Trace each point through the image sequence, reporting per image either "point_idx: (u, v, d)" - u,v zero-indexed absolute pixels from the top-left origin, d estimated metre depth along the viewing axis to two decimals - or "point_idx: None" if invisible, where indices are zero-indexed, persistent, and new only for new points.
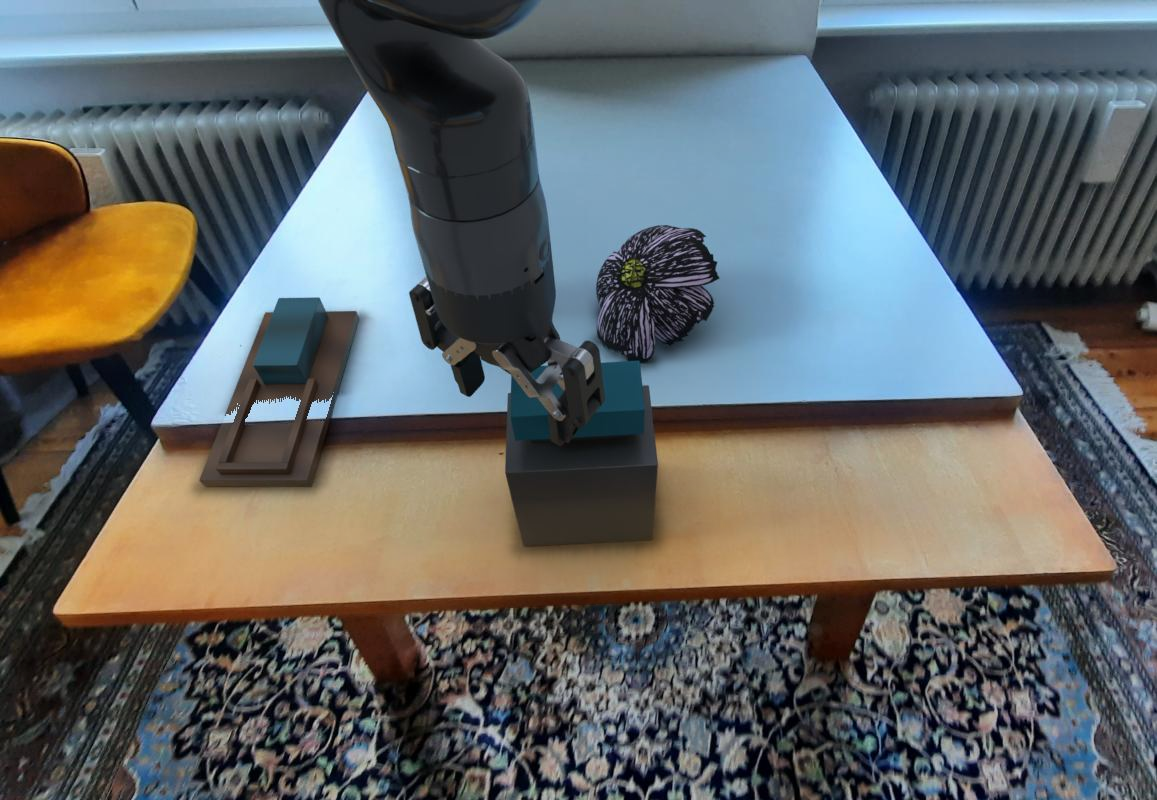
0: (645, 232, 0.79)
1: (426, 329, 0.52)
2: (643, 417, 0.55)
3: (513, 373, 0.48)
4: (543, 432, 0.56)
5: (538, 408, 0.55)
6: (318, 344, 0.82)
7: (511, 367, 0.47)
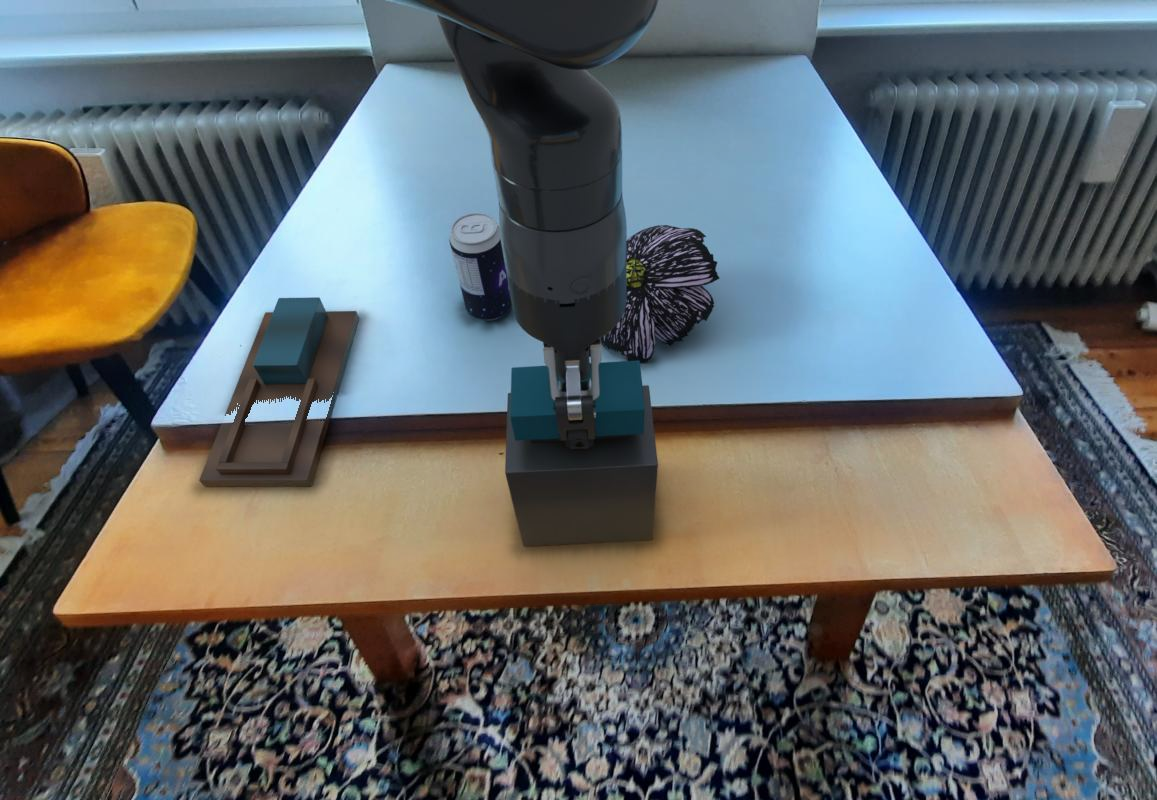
0: (645, 232, 0.79)
1: None
2: (643, 417, 0.55)
3: None
4: (543, 432, 0.56)
5: (538, 408, 0.55)
6: (318, 344, 0.82)
7: None
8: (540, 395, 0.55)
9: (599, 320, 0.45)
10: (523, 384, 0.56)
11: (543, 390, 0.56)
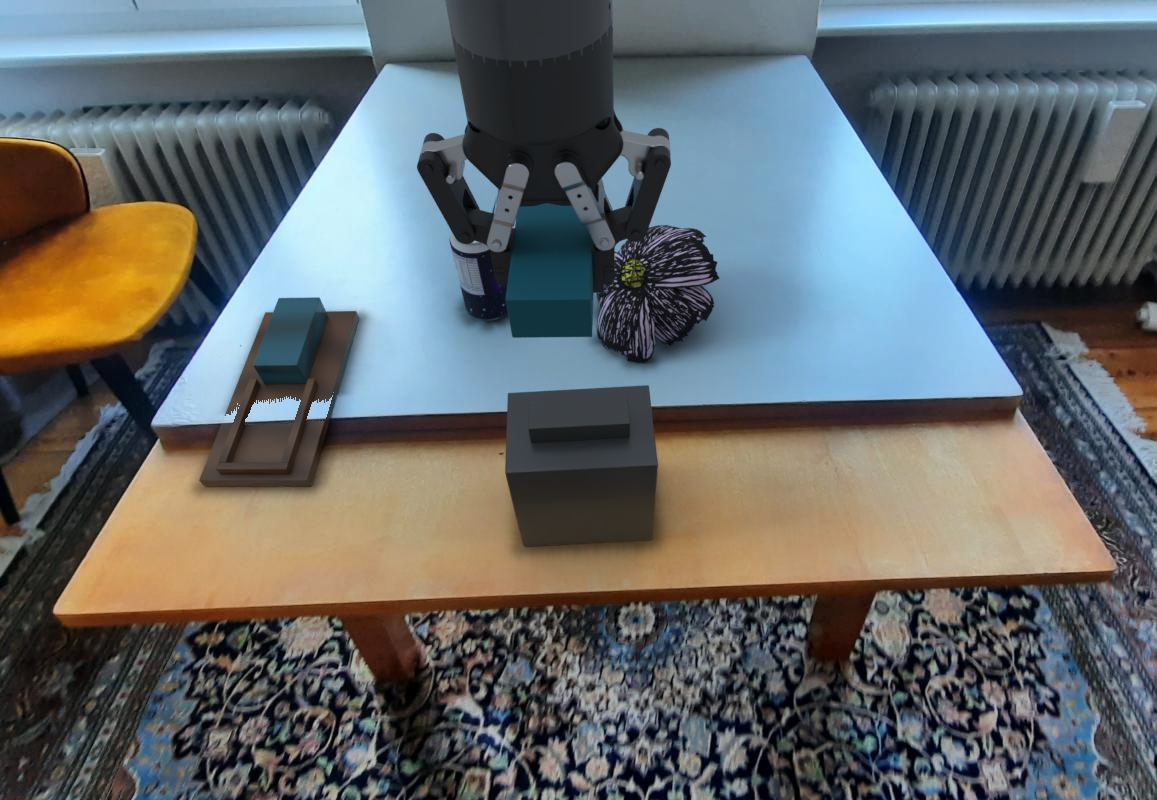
0: None
1: (456, 212, 0.41)
2: None
3: (572, 193, 0.39)
4: (592, 298, 0.44)
5: (579, 273, 0.42)
6: (318, 344, 0.82)
7: (579, 183, 0.39)
8: (559, 271, 0.43)
9: None
10: (537, 287, 0.42)
11: (551, 268, 0.43)
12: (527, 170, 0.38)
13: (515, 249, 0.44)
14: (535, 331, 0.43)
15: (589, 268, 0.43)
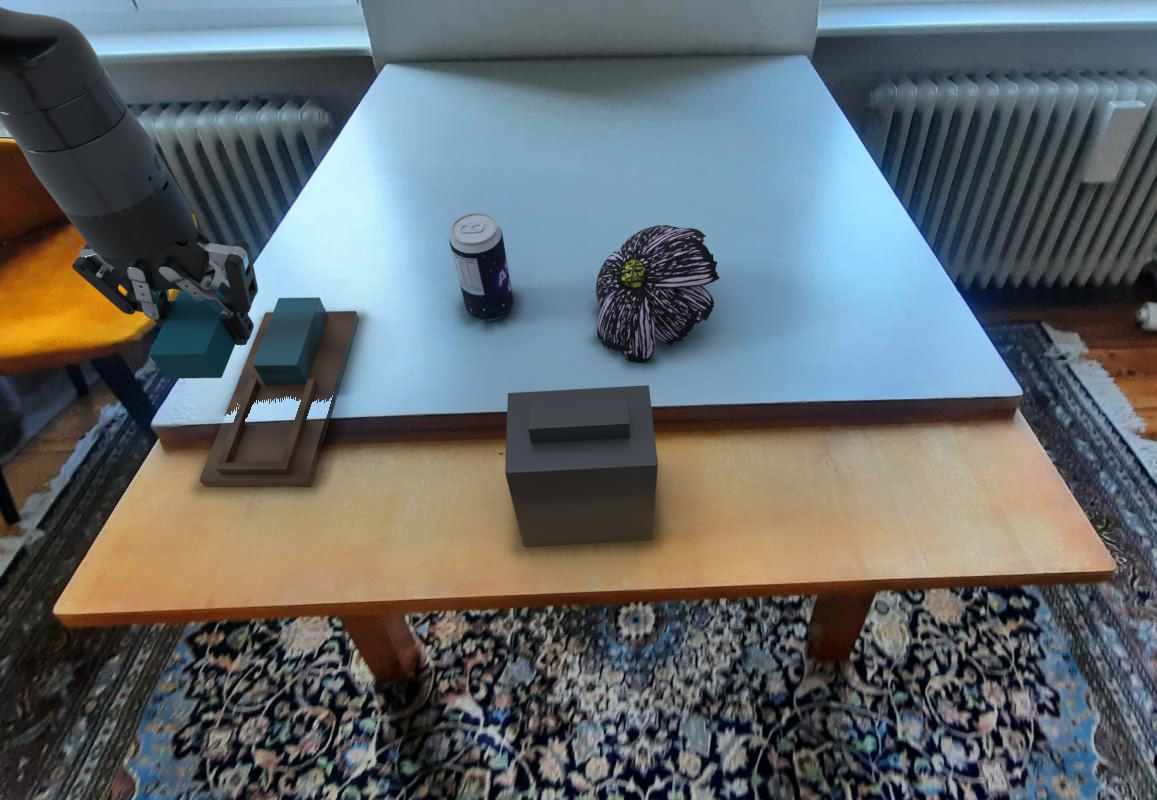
0: (645, 232, 0.79)
1: (113, 295, 0.60)
2: None
3: (181, 284, 0.58)
4: (225, 350, 0.63)
5: (205, 334, 0.61)
6: (318, 344, 0.82)
7: (180, 278, 0.57)
8: (192, 333, 0.61)
9: (181, 192, 0.55)
10: (172, 345, 0.60)
11: (187, 331, 0.61)
12: (141, 271, 0.57)
13: (169, 316, 0.63)
14: (180, 374, 0.62)
15: (213, 331, 0.61)
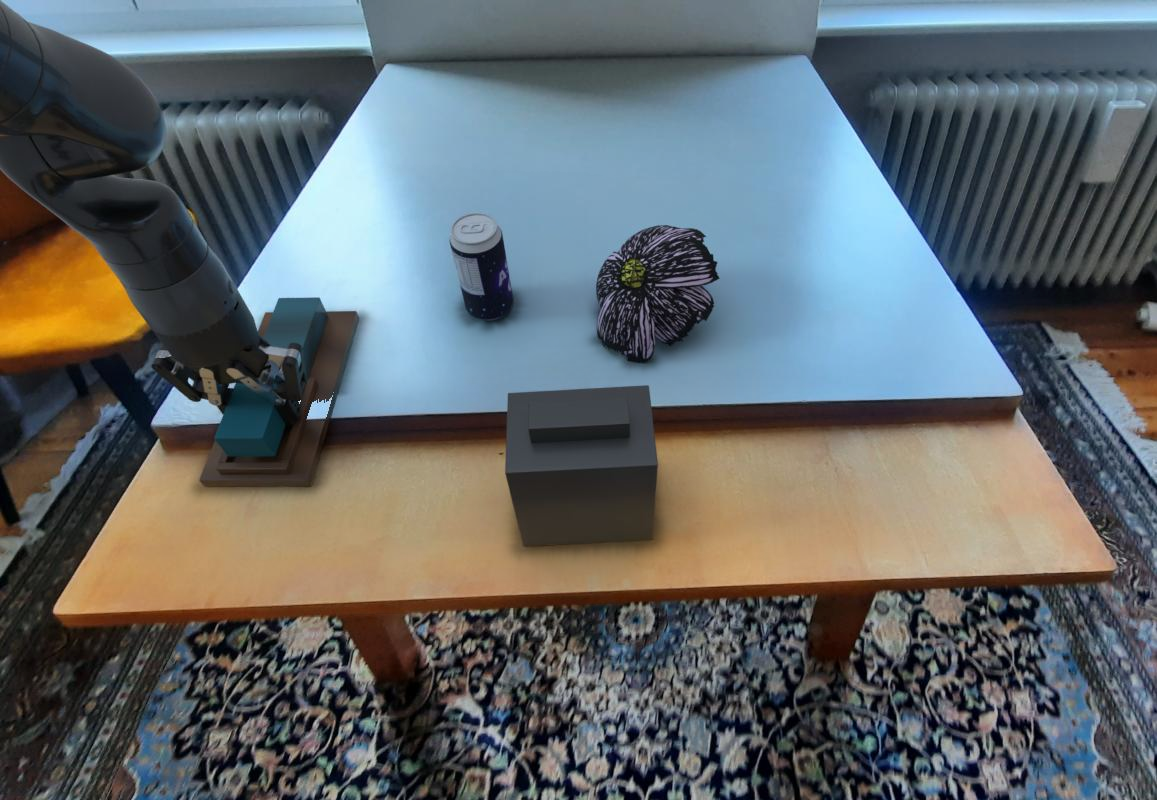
0: (645, 232, 0.79)
1: (183, 387, 0.70)
2: None
3: (244, 380, 0.68)
4: (278, 431, 0.73)
5: (261, 420, 0.71)
6: (318, 344, 0.82)
7: (243, 377, 0.67)
8: (250, 418, 0.71)
9: (246, 306, 0.65)
10: (234, 429, 0.70)
11: (246, 417, 0.71)
12: (211, 371, 0.66)
13: (229, 403, 0.72)
14: (240, 453, 0.72)
15: (269, 416, 0.71)
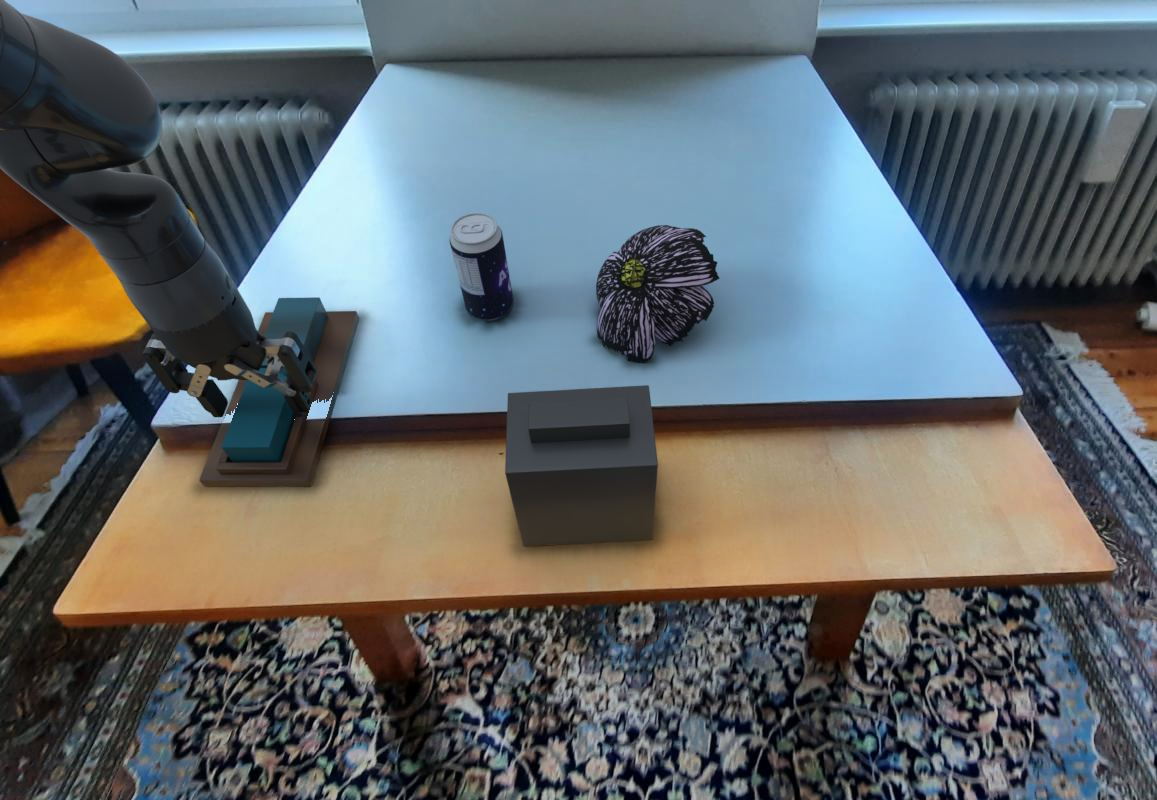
0: (645, 232, 0.79)
1: (166, 378, 0.69)
2: None
3: (245, 376, 0.67)
4: (284, 440, 0.74)
5: (268, 429, 0.72)
6: (318, 344, 0.82)
7: (242, 371, 0.66)
8: (257, 427, 0.72)
9: (244, 302, 0.65)
10: (241, 438, 0.71)
11: (253, 425, 0.72)
12: (208, 367, 0.66)
13: (236, 412, 0.73)
14: (246, 461, 0.73)
15: (275, 425, 0.72)
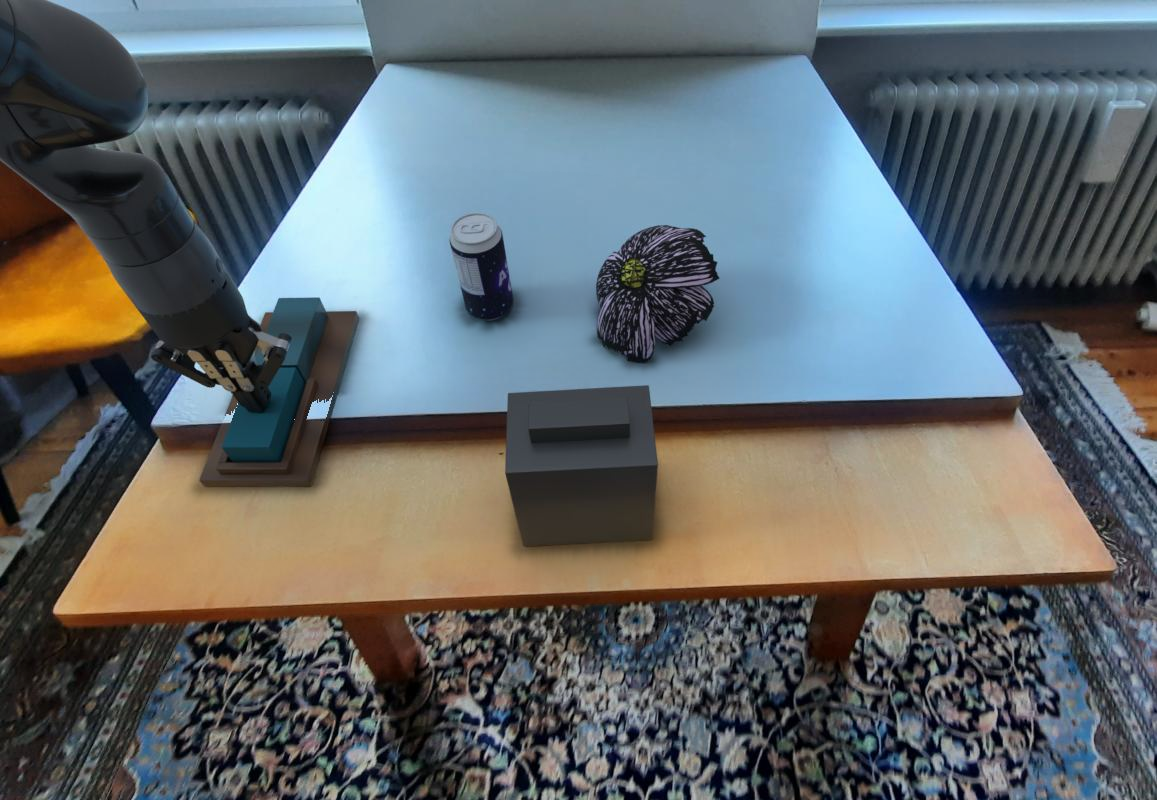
0: (645, 232, 0.79)
1: (192, 374, 0.68)
2: None
3: (226, 363, 0.66)
4: (284, 440, 0.74)
5: (268, 429, 0.72)
6: (318, 344, 0.82)
7: (230, 360, 0.65)
8: (257, 427, 0.72)
9: (235, 286, 0.63)
10: (241, 438, 0.71)
11: (253, 425, 0.72)
12: (199, 353, 0.64)
13: (236, 412, 0.73)
14: (246, 461, 0.73)
15: (275, 425, 0.72)
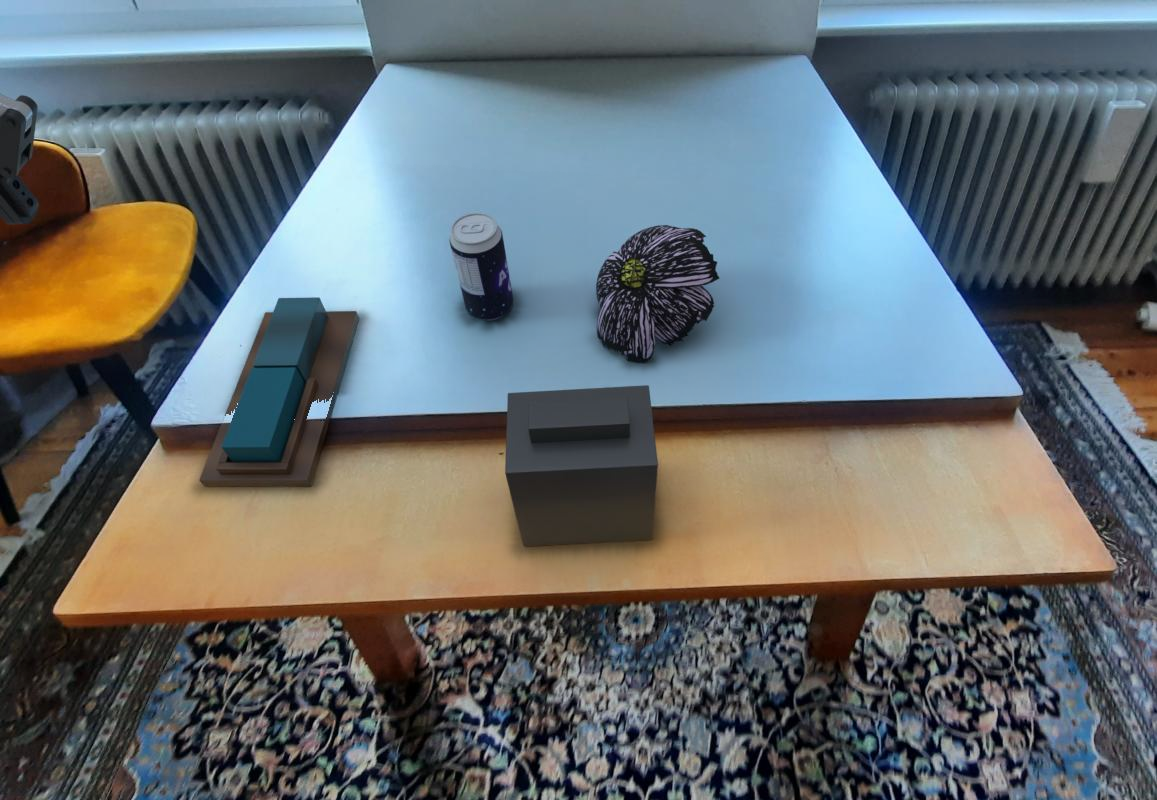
0: (645, 232, 0.79)
1: None
2: None
3: None
4: (284, 440, 0.74)
5: (268, 429, 0.72)
6: (318, 344, 0.82)
7: None
8: (257, 427, 0.72)
9: None
10: (241, 438, 0.71)
11: (253, 425, 0.72)
12: None
13: (236, 412, 0.73)
14: (246, 461, 0.73)
15: (275, 425, 0.72)
